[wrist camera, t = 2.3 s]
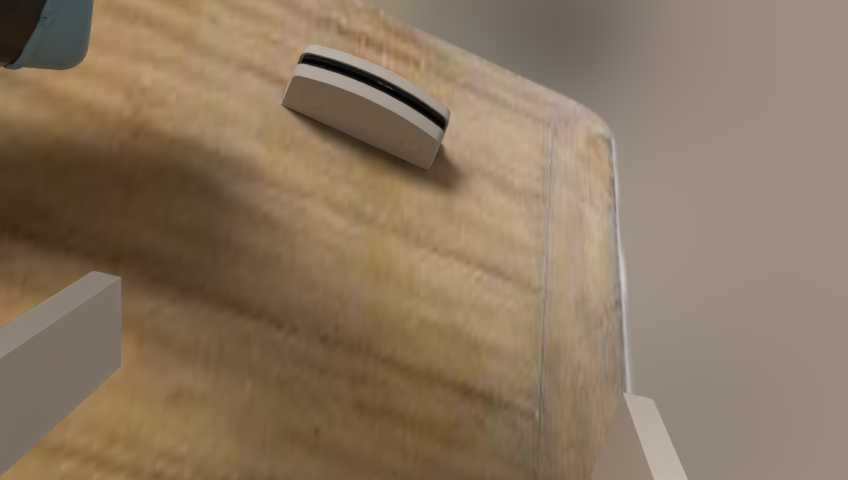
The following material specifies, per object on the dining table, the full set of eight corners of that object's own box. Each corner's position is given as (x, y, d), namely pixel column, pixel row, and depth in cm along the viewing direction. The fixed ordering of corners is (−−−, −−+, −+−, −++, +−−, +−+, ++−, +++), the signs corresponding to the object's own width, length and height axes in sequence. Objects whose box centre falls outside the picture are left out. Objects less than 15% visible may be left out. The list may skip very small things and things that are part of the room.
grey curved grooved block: (438, 141, 64) (471, 97, 55) (425, 177, 62) (456, 138, 53) (296, 74, 61) (304, 16, 52) (277, 111, 60) (283, 58, 50)
